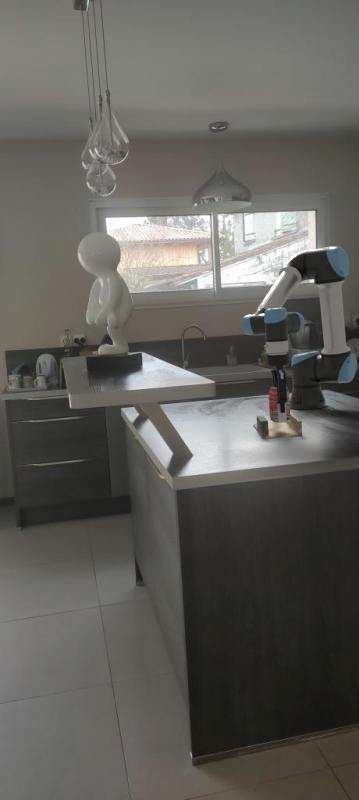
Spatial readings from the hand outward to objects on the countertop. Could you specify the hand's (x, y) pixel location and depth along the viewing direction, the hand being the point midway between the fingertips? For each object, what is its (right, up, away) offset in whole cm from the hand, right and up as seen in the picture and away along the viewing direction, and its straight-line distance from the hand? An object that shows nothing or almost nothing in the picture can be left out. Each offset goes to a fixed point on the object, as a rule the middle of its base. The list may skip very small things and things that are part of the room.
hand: (280, 419), depth 201 cm
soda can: (0, -1, 0) cm, 1 cm away
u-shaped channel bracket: (0, -4, +6) cm, 7 cm away
